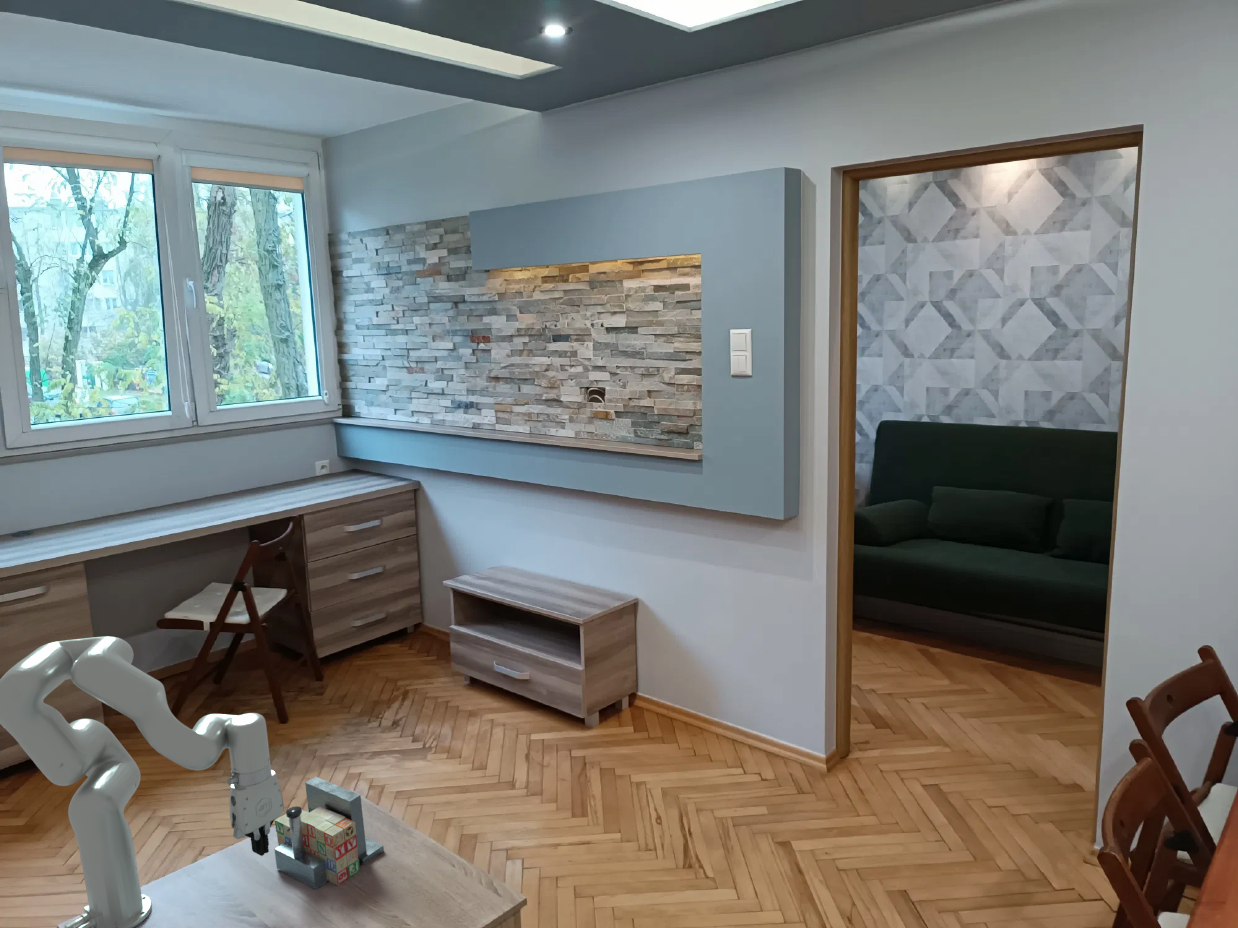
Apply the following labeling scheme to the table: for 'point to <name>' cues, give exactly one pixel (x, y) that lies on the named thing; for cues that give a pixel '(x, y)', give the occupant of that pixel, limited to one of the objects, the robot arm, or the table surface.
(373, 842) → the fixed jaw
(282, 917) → the table surface
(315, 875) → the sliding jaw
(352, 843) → the stack of blocks
